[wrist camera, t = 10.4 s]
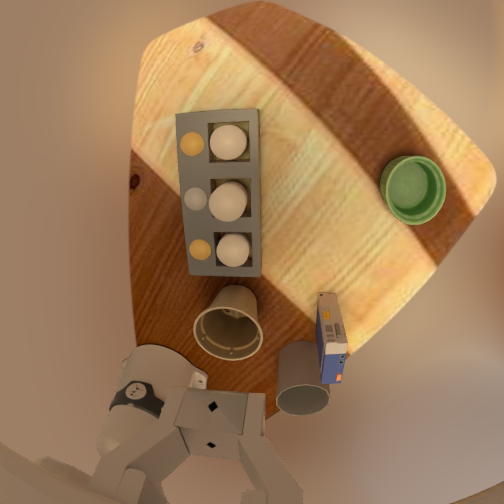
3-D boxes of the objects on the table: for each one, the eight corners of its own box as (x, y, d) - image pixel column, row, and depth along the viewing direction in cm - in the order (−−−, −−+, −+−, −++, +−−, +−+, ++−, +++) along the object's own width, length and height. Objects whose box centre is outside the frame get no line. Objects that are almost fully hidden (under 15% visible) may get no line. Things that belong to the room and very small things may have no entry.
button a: (251, 256, 43) (248, 267, 40) (222, 255, 43) (217, 266, 40) (250, 228, 41) (248, 237, 38) (220, 228, 42) (215, 237, 39)
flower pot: (199, 311, 48) (185, 346, 41) (217, 264, 45) (204, 296, 37) (253, 332, 49) (247, 368, 41) (276, 288, 45) (274, 323, 37)
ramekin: (364, 196, 38) (373, 205, 34) (393, 139, 35) (406, 142, 31) (413, 225, 39) (425, 236, 35) (441, 172, 35) (456, 179, 31)
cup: (292, 334, 49) (293, 378, 40) (333, 349, 49) (340, 392, 40) (270, 365, 52) (267, 408, 43) (309, 378, 53) (311, 420, 44)
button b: (248, 213, 38) (245, 221, 35) (215, 213, 38) (210, 221, 35) (247, 180, 36) (244, 186, 33) (214, 181, 37) (207, 187, 34)
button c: (248, 156, 37) (245, 159, 34) (216, 157, 38) (210, 160, 35) (248, 124, 35) (244, 124, 32) (215, 125, 36) (209, 126, 33)
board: (261, 267, 44) (260, 277, 41) (194, 265, 45) (189, 275, 42) (259, 109, 35) (257, 108, 32) (183, 114, 36) (174, 113, 33)
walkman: (331, 331, 48) (341, 385, 37) (315, 332, 48) (321, 386, 37) (335, 291, 44) (349, 343, 34) (318, 291, 45) (326, 344, 34)
